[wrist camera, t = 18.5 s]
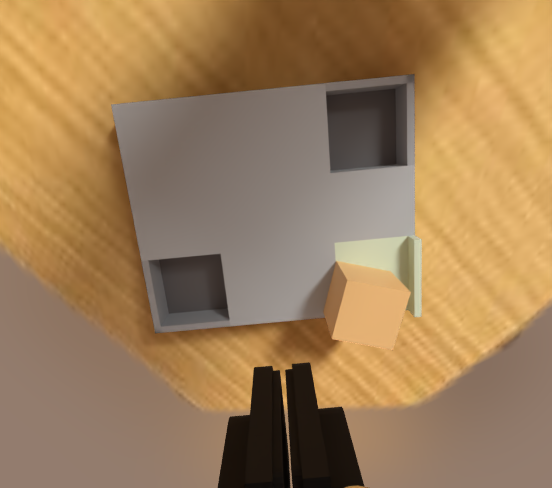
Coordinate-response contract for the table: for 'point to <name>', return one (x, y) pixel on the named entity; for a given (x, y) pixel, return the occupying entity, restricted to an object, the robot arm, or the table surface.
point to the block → (365, 305)
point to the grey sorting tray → (270, 197)
